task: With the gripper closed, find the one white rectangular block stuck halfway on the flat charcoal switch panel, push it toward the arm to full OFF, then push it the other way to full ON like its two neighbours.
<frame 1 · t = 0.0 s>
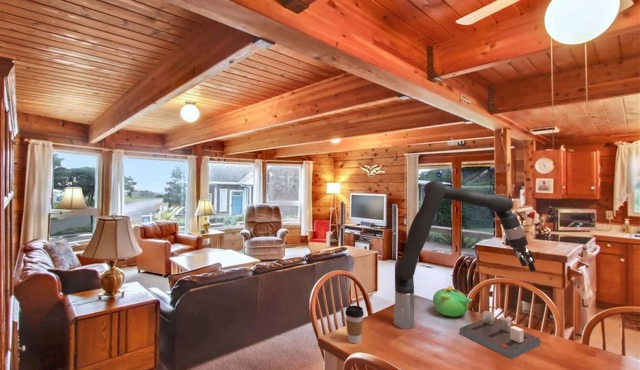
hand: (528, 268, 147), 31 cm above the table, tool tilted 20°, fingers open, 8 cm apart
switch panel: (498, 339, 143), on the table
coffee cup: (354, 340, 142), on the table
white rectangular block: (516, 334, 136), point 6 cm above the table, slide at 0.0 cm
green rounded blob: (450, 315, 169), on the table
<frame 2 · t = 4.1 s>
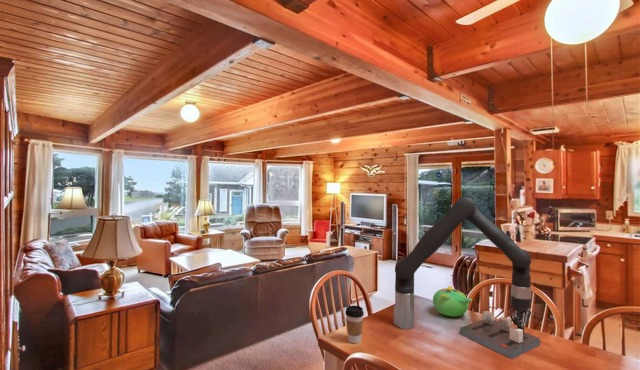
hand: (520, 334, 138), 5 cm above the table, tool pointing down, fingers closed
white rectangular block: (516, 334, 136), point 6 cm above the table, slide at -0.5 cm, touching gripper
everything else where it was.
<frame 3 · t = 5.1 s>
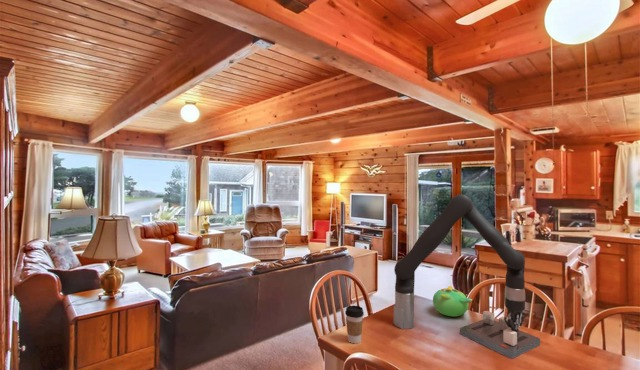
hand: (514, 336, 136), 5 cm above the table, tool pointing down, fingers closed
white rectangular block: (510, 337, 134), point 6 cm above the table, slide at -5.1 cm, touching gripper
everything else where it was.
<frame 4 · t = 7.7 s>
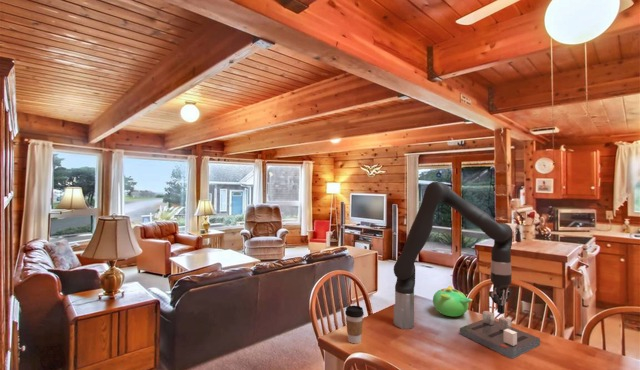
hand: (500, 313, 130), 18 cm above the table, tool pointing down, fingers closed
white rectangular block: (510, 337, 134), point 6 cm above the table, slide at -5.1 cm
everything else where it was.
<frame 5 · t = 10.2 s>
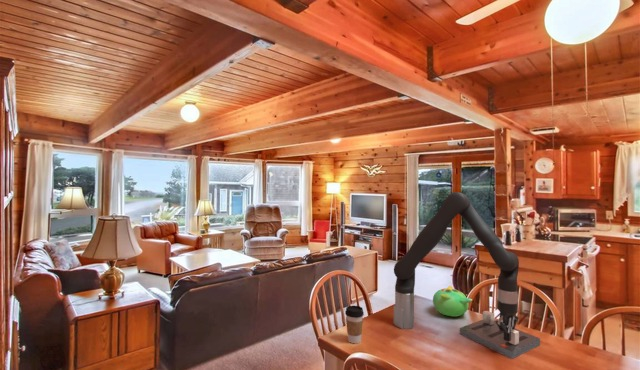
hand: (507, 340, 132), 5 cm above the table, tool pointing down, fingers closed
white rectangular block: (512, 336, 134), point 6 cm above the table, slide at -3.6 cm, touching gripper
everything else where it was.
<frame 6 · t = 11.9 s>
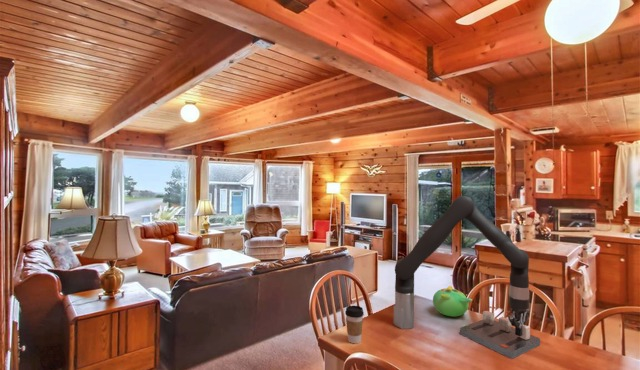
hand: (518, 335, 136), 5 cm above the table, tool pointing down, fingers closed
white rectangular block: (523, 331, 139), point 6 cm above the table, slide at 5.1 cm, touching gripper
everything else where it was.
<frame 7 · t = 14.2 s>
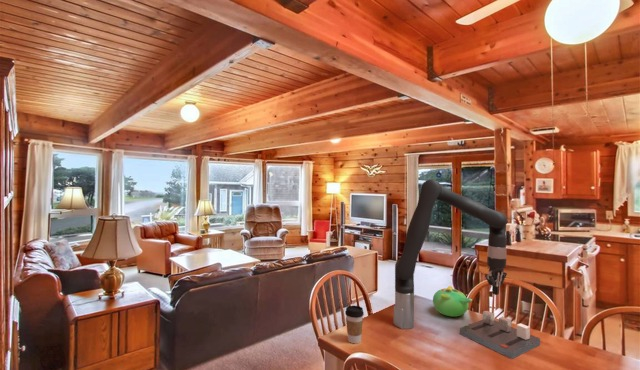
hand: (495, 294, 141), 21 cm above the table, tool pointing down, fingers closed
white rectangular block: (523, 331, 139), point 6 cm above the table, slide at 5.1 cm
everything else where it was.
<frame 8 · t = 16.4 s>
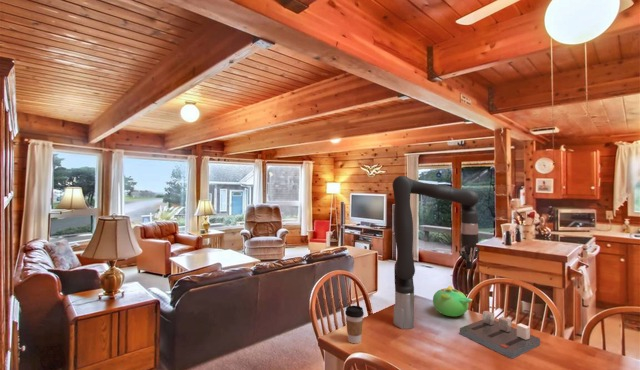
hand: (469, 268, 148), 31 cm above the table, tool pointing down, fingers closed
nothing on the table moved.
at the end: white rectangular block slide at 5.1 cm; green rounded blob moved 0.2 cm from its start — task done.
